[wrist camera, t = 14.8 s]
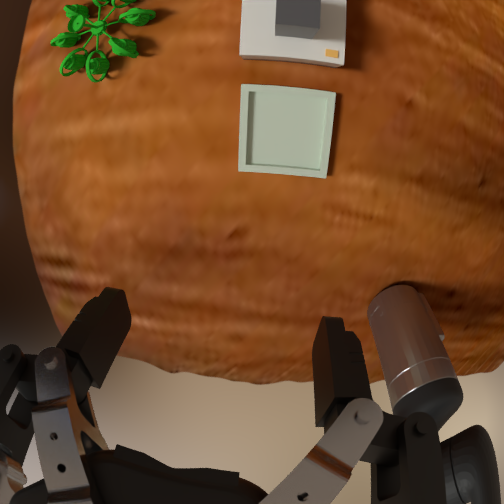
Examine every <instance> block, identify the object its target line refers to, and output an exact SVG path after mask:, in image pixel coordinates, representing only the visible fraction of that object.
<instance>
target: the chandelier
mask: <svg viewBox="0 0 504 504" xmlns="http://www.w3.org/2000/svg"><path fill="white" fill-rule="evenodd" d="M92 1H93V3H94V4H95V5H96V6H98V7H99V13H98V21H97V22H95V23H93V22H92V21H90V20H89V19H88V18H89V17H90V15H89V14H88V12H89V10H88V8H87V7H86V6H82V5H78V4H76V5H66V6H65V7H64V8H63V9H64V10H65V11H66V16H67V17H69V18H71V20H70V21H69V23H68V30H69V32H65V33H60V34H59V35H58V36H57V37H56V38H54V39H52V40H51V46H59V47H67V48H69V47H72V46H74V45H75V44H76V42H77V41H78V40H80V39H81V34H84V33H87V32H90V31H91V32H92V35H91V37H90V38H89V39H88V41H87V42H86V44H85V45H84V46H83V48H78V49H75V50H74V51H72V52H71V53H70V54H68V55H67V56H66V58H65V59H64V60H63V62H62V64H61V66H60V73H61V74H62V75H63V76H70V75H72V74H73V73H75V72H76V71H77V70H79V69H81V68H82V67H83V66H84V65H85V63H86V73H87V76H88V78H89V79H90V80H91V81H92V82H100V81H102V80H103V79H104V78H105V76H106V73H107V70H108V69H109V66H110V63H109V61H108V60H107V58H106V56H105V54H104V53H103V52H102V51H100V50H98V44H99V36H100V35H102V34H103V33H104V34H106V35H107V36H108V37H110V38H111V39H110V40H109V44H110V45H111V46H112V51H113V52H114V53H115V54H117V55H119V56H129V57H131V58H136V57H137V56H138V55H139V53H138V51H136V48H137V45H136V43H135V42H134V41H132V40H129V39H118V38H114V37H112V36H110V35H109V34H108V33H106V32H105V31H106V29H107V26H108V25H111V24H115V23H118V22H121V23H131V24H133V25H135V26H143V25H145V24H146V23H147V22H148V21H149V20H151V19H153V18H155V16H156V12H155V11H153V10H145V9H141V8H132V9H130V10H129V11H128V12H125V13H123V14H121V15H120V16H119V21H115V22H112V23H109V24H107V22H106V21H105V20H106V19H107V18H108V16H109V15H110V14H111V13H112V12H113V11H114V9H115V8H123V7H125V6H127V5H129V4H130V3H133V2H135V1H136V0H120V1H123V2H125V4H123V5H119V6H116V5H115V0H111V3H112V5H113V6H114V8H113V9H112V10H111V11H110V13H109V14H108V15H107V16H106V17H105V19H104V20H100V12H101V7H103V6H106V5H107V4H108V3H109V2H110V0H98V1H101V2H105V1H106V3H105V4H104V5H102V4H100V3H99V2H98V1H97V0H92ZM149 14H152V16H150V15H149ZM140 16H141V17H140ZM123 17H125V19H122V18H123ZM144 18H145V19H144ZM86 20H87V21H88V22H90V23H91V24H92V25H90V24H85V21H86ZM140 20H141V21H140ZM84 26H85V27H90V28H91V30H88V31H85V32H82V33H80V34H78V33H76V32H78V31H80V30H81V29H82V28H83V27H84ZM70 32H73V33H70ZM93 35H95V36H97V46H96V51H93V52H91V53H90V54H89V56H88V52H87V50H85V49H84V48H85V46H86V45H87V44H88V42H89V41H90V39H91V38H92V37H93ZM69 40H70V41H69ZM54 42H55V43H54ZM131 48H132V49H131ZM78 51H85V55H80V54H75V53H76V52H78ZM95 52H97V53H99V54H100V55H101V57H102V58H94V59H91V57H92V55H93V54H94V53H95ZM133 53H134V54H133ZM87 56H88V58H87ZM86 58H87V60H86ZM99 62H100V64H99ZM99 65H100V66H99ZM63 67H64V68H65V69H68V70H72V71H71V72H69V73H63ZM98 68H99V69H98ZM92 74H103V75H102V77H101V78H100V79H99V80H96V79H94V78H93V76H92Z"/></svg>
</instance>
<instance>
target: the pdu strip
mask: <svg viewBox="0 0 504 504" xmlns="http://www.w3.org/2000/svg"><path fill="white" fill-rule="evenodd" d="M345 37H346V0H242V16H241V34H240V54H239V55H240V56H241V57H242V58H243V59H244V60H269V61H283V62H294V63H304V64H312V65H319V66H326V67H332V68H337V67H340V66H343V65H344V57H345Z"/></svg>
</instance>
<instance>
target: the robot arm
mask: <svg viewBox="0 0 504 504" xmlns="http://www.w3.org/2000/svg"><path fill="white" fill-rule="evenodd" d="M367 316H368V319H369V324H370V326H371V329H372V333H373V336H374V340H375V343H376V347H377V351H378V354H379V358H380V361H381V365H382V369H383V373H384V377H385V381H386V385H387V389H388V393H389V397H390V401H391V406H392V411H393V415H392V414H388V413H386V412H384V411H382V410H381V408H380V407H379V405H378V404H377V403H376V402H374V401H373V399H372V395H371V390H370V384H369V379H368V374H367V369H366V365H365V360H364V355H363V351H362V346H361V342H360V340H359V339H358V338H357V336H356V335H355V333H354V332H353V331H345V327H344V322H343V319H342V318H340V317H326V316H323V317H322V319H321V322H320V325H319V328H318V331H317V334H316V337H315V340H314V343H313V349H312V362H313V378H314V398H315V424H316V427H324V436H323V437H322V438H321V439H320V440H319V442H318V443H317V444H316V445H315V446H314V448H313V449H312V450H311V451H310V452H309V453H308V455H307V456H306V457H305V458H304V459H303V460H302V461H301V462H300V463H299V464H298V465H297V467H296V468H295V469H294V470H293V471H292V472H291V473H290V474H289V475H288V476H287V477H286V478H285V479H284V480H283V481H282V482H281V483H280V484H279V485H278V486H277V487H276V488H275V489H274V490H273V491H272V492H271V493H270V494H267V493H266V492H265V491H264V490H263V489H261V488H260V487H259V486H257V485H255V484H253V483H252V482H250V481H247V480H245V479H242V478H239V472H231V471H224V470H217V469H211V468H190V469H187V468H186V469H183V468H182V469H181V468H179V469H178V468H171V467H169V466H167V465H165V464H163V463H161V462H159V461H158V460H156V459H154V458H152V457H150V456H148V455H147V454H145V453H142V452H139V451H136V450H132V449H129V448H126V447H124V446H120V445H118V444H117V445H116V448H115V450H109V448H108V445H107V443H106V441H105V439H104V438H103V437H102V434H101V432H100V430H99V427H98V424H97V420H96V417H95V413H94V410H93V406H92V402H91V398H90V394H89V392H88V390H89V388H90V386H93V387H96V388H99V389H100V388H101V386H102V383H103V381H104V379H105V377H106V375H107V373H108V371H109V369H110V367H111V365H112V363H113V361H114V359H115V357H116V355H117V353H118V351H119V349H120V347H121V345H122V343H123V341H124V339H125V337H126V336H127V334H128V332H129V330H130V327H131V314H130V310H129V307H128V303H127V299H126V295H125V292H124V291H123V290H121V289H116V288H111V287H106V288H104V290H103V291H102V292H101V294H100V295H99V297H94V298H93V299H91V300H90V301H88V302H87V303H86V304H85V305H84V307H83V308H82V309H81V311H80V314H78V315H77V316H76V318H75V321H73V322H72V324H71V325H70V326H69V328H68V329H67V331H66V332H65V334H64V335H63V337H62V339H61V340H60V341H59V343H58V344H57V346H56V347H47V348H45V349H43V350H42V351H41V352H40V353H39V354H38V355H31V354H23V352H22V351H21V349H20V348H19V347H18V346H17V345H14V344H10V345H7V346H5V347H3V349H1V350H0V504H330V503H331V502H332V501H333V500H334V498H335V497H336V496H337V495H338V493H339V492H340V491H341V490H342V488H343V487H344V486H345V484H346V483H347V482H348V480H349V478H350V476H351V471H352V470H353V468H354V467H355V465H356V464H357V462H358V461H359V460H360V461H364V462H369V463H371V504H466V503H469V502H471V504H501V497H500V484H499V475H498V468H497V461H496V457H495V451H494V448H493V444H492V441H491V439H490V436H489V434H488V433H487V431H486V430H485V429H484V428H483V427H482V426H480V425H474V426H471V427H469V428H467V429H466V430H464V431H462V432H460V433H458V434H456V435H455V436H453V437H451V438H449V439H447V440H445V441H443V442H441V443H440V441H439V435H438V431H439V430H440V428H441V427H442V426H443V425H444V424H445V423H446V422H447V420H448V419H449V418H450V417H451V416H452V415H453V414H454V413H455V412H456V411H457V410H458V408H459V407H460V405H461V403H462V401H463V392H462V388H461V386H460V383H459V381H458V378H457V376H456V373H455V371H454V368H453V366H452V363H451V361H450V359H449V356H448V354H447V352H446V350H445V347H444V345H443V343H442V341H443V339H444V333H443V331H442V329H441V327H440V325H439V323H438V321H437V319H436V317H435V315H434V313H433V311H432V309H431V307H430V305H429V303H428V302H427V300H426V298H425V296H424V294H423V293H418V292H417V291H416V290H415V288H413V287H411V286H408V285H396V286H393V287H390V288H387V289H385V290H384V291H382V292H381V293H379V294H378V295H377V296H376V297H375V298H374V299H373V300H372V302H371V303H370V305H369V307H368V311H367ZM15 388H16V389H17V390H18V391H19V393H18V395H17V397H16V399H15V401H14V403H13V405H12V407H11V410H10V412H9V414H8V415H7V414H6V406H7V403H8V401H9V399H10V397H11V395H12V393H13V391H14V389H15ZM34 433H35V439H36V445H37V450H38V455H39V459H40V464H41V468H42V472H43V476H44V479H42V480H40V481H38V482H36V483H34V484H32V485H29V486H27V487H25V488H23V485H24V484H26V483H27V477H26V475H25V474H24V473H23V469H22V465H23V462H24V459H25V456H26V453H27V450H28V448H29V445H30V442H31V440H32V437H33V434H34Z"/></svg>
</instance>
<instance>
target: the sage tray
mask: <svg viewBox="0 0 504 504" xmlns="http://www.w3.org/2000/svg"><path fill="white" fill-rule="evenodd" d="M335 97H336V93H334V92H328V91H321V90H313V89H305V88H296V87H285V86H272V85H253V84H241V105H240V132H239V163H238V171H245V172H261V173H275V174H287V175H298V176H308V177H318V178H326V176H327V168H328V161H329V153H330V145H331V136H332V127H333V118H334V108H335Z"/></svg>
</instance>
